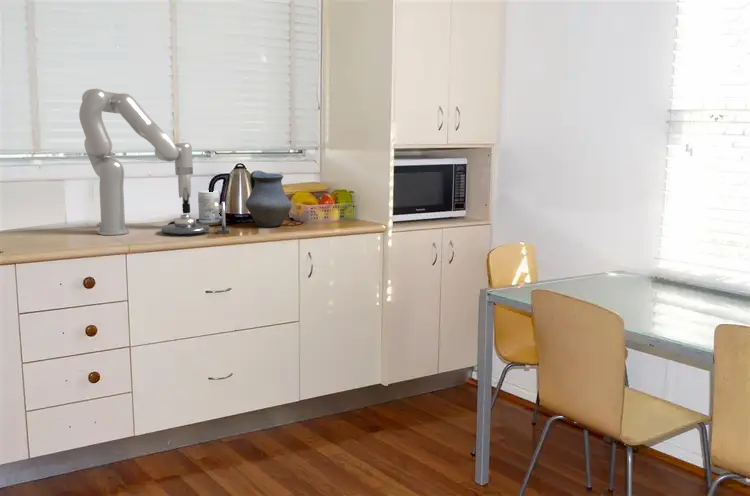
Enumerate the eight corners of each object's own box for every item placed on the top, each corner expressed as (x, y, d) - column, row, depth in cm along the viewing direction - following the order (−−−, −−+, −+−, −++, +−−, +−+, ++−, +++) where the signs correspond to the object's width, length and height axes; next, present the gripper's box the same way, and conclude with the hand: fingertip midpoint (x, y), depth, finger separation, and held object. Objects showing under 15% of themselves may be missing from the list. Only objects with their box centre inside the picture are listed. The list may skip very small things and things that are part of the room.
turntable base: (168, 233, 324) (168, 231, 324) (185, 230, 333) (185, 228, 333) (186, 235, 320) (186, 233, 319) (202, 232, 328) (202, 230, 328)
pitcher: (266, 230, 336) (265, 174, 331) (234, 225, 350) (233, 171, 345) (300, 226, 351) (300, 171, 347) (268, 221, 365) (268, 169, 361)
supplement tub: (213, 220, 365) (213, 189, 363) (223, 222, 358) (222, 191, 356) (195, 221, 359) (194, 190, 357) (204, 224, 352) (203, 192, 349)
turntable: (151, 231, 322) (151, 227, 322) (185, 225, 339) (185, 221, 339) (186, 235, 313) (186, 231, 312) (219, 229, 330) (219, 225, 329)
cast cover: (170, 225, 327) (170, 215, 327) (185, 223, 335) (185, 212, 334) (185, 227, 323) (185, 216, 322) (200, 225, 331) (200, 214, 330)
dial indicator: (230, 232, 331) (229, 201, 328) (229, 233, 326) (228, 202, 324) (209, 232, 330) (208, 201, 327) (208, 233, 325) (207, 202, 323)
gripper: (175, 170, 340) (177, 210, 344) (175, 173, 326) (178, 215, 330) (192, 169, 342) (194, 210, 346) (193, 172, 328) (195, 214, 332)
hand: (186, 212), depth 338 cm, fingers closed
